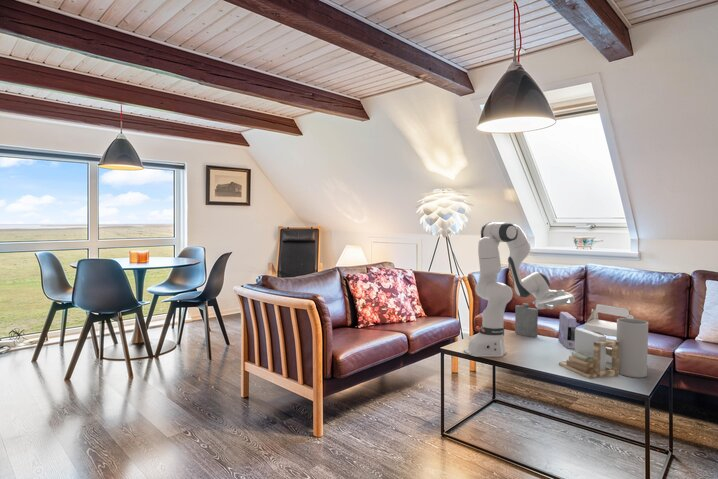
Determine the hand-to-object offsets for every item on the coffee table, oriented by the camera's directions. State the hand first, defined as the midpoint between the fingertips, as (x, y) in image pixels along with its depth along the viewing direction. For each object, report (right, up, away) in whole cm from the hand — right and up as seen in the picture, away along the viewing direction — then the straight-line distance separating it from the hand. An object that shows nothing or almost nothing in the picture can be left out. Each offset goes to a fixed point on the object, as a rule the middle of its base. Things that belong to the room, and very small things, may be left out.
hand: (561, 305), depth 233 cm
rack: (+4, -28, -20) cm, 35 cm away
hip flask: (-1, -26, +48) cm, 54 cm away
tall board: (+5, -28, -19) cm, 34 cm away
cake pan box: (+15, -27, +24) cm, 39 cm away
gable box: (+25, -28, -3) cm, 37 cm away
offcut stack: (-1, -27, -23) cm, 35 cm away
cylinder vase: (+21, -28, -25) cm, 44 cm away
